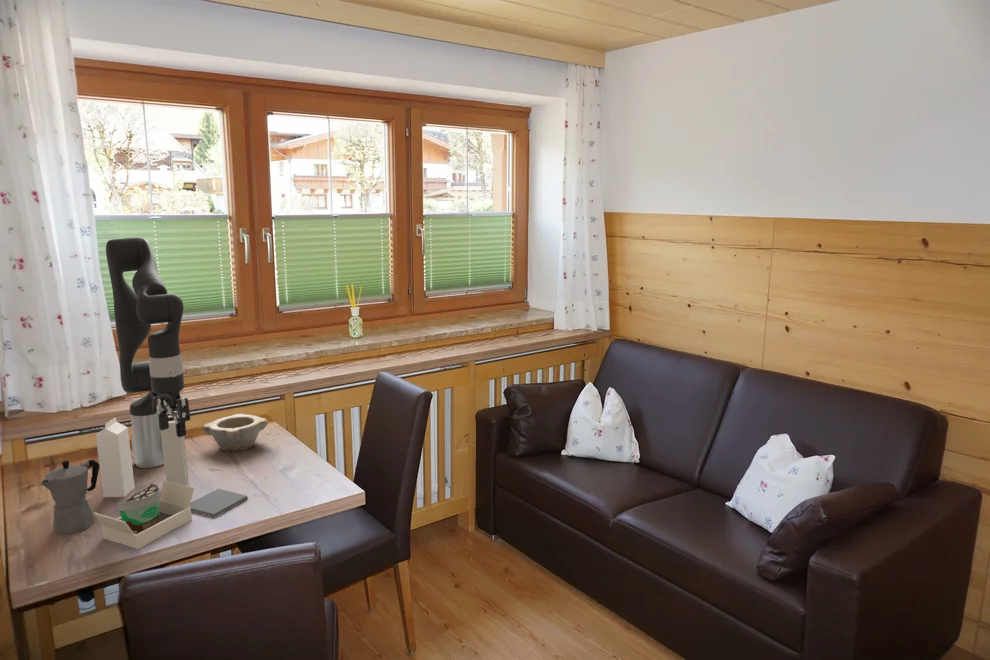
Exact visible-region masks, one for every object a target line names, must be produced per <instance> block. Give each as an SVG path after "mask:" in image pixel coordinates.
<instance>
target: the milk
mask: <svg viewBox="0 0 990 660" xmlns="http://www.w3.org/2000/svg"><path fill="white" fill-rule="evenodd" d="M104 426H105V428H104V429H102V430H101V431H99V432H98V433H96V434H95V440H96V449H97V456H98V457H97V458H98V463H99V472H100V473H99V474H100V479H101V488H102V497H103V498H125V497H127V496H128V495H129V494H131V492H132V491H133V490H134V489H135V478H134V471H133V463H132V462H133V461H132V453H131V444H130V438H129V437H130V436H129V428H128V426H126V425H124V424H122V423H120V422H118V421H117V417H114V418H112V419H110V420H108V421H107V422H106V423H105V424H104Z"/></svg>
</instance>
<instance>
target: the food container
mask: <svg viewBox="0 0 990 660" xmlns="http://www.w3.org/2000/svg"><path fill="white" fill-rule="evenodd" d="M161 490H162V489H161V488H160V487H159V485H158V484H157V483H154V482H149V486H147V487H146V488H145V489H143V490H141V491H138V492H136V493H135V494H133V495H131V496H130V497H129V498H128V499H127V500H125V501H118V503H117V511H119V513H120V517H121V518H122V521H125V522H126V523H127V525H128V526H129V527H130V529H131V530H132V531H133V533H134V534H138V533H140V532H142V531H144V530H146V529H148V528H150V527H151V526H153V525H155V524H157V523H159V522H161V521H160V512H159V499H160V498H161V497H162V493H161Z"/></svg>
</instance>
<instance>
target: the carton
mask: <svg viewBox="0 0 990 660" xmlns="http://www.w3.org/2000/svg"><path fill="white" fill-rule="evenodd" d="M160 490H161V493H162V497H161V498H160V499H159V513H162V514H164V513H165V515H169V516H168V517H167V518H165V519H163V520H162V521H160V522H159V523H157V524H155V525H153V526H151V527H150V528H148V529H146V530H144V531H142V532H140V533H138V534H134V533H133V531H132V530H131V529H130V527H129V526H128V525H127V523H126V522H125V521H122V518H121V516H119V517H117V518H115V517H111V516H108V515H105V514H101V513H98V512H95V511H94V512H93V515H94V516H95V518H97V520H98V521H99V522H100V524H101V527H102V535H103V536H102V537H103V539H105V540H108V541H110V542H115V543H117V544H120V543H121V544H120V545H123V544H124V545H123V546H126V545H127V547H129V548H133V549H137V550H138V549H140V548H142V547H144V546H146V545H148V544H150V543H151V542H153V541H155V540H157V539H159V538H160V537H161V538H162V537H163V536H164V535H166V534H169V533H170V532H172V531H173V529H174V530H175V528H176V529H177V527H178V528H179V527H181V526H182V524H183V525H185V524H186V522H187V523H189V522H191V521H192V519H193V518H192V511H191V508H190V507H189V506H190V503H191V502H192V497H193V494H194V490H195V487H192V486H191V487H190V486H189V487H187V486H183V485H179V484H176V483H172V482H168V481H166V480H163V481H162V486H161V489H160ZM171 515H172V516H171ZM190 520H191V521H190ZM188 521H189V522H188ZM171 530H172V531H171Z"/></svg>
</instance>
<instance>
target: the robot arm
mask: <svg viewBox="0 0 990 660" xmlns="http://www.w3.org/2000/svg"><path fill="white" fill-rule="evenodd" d="M105 255H106V261H107V267H108V271H109V272H108V273H109V278H110V284H111V289H112V298H113V312H114V313H113V314H114V321H115V322H114V323H115V329H116V335H117V342H118V350H119V372H120V374H119V375H120V384H121V387H122V389H123V391H124V392H125V393H129V394H132V393H141V392H148V393H147V394H145V395H144V396H143V397H142V398H139V399H137V400H135V401H133V402H132V403H130V405H129V413H130V414H129V415H130V422H131V431H132V434H131V435H130V440H131V446H132V455H133V464H135V465H136V466H135V467H138V468H140V469H151V468H155V467H159V466H162V465H163V466H164V458H163V448H162V439H161V430H166V429H168V428H169V422H168V417H169V416H172V417H173V418H174V420H175V422H176V423H175V425H176V435H177V437H183V436H184V437H185V436H186V435H187V427H186V422H188V421H191V413H190V405H189V398H188V397H181V394H180V392H181V391H183V390H184V389H185V377H184V368H183V367H184V366H183V362H182V361H183V360H182V356H181V350H180V349H181V348H180V329H181V322H182V320H183V315H184V308H185V307H184V306H185V305H184V302H183V299H182V298H181V297H180V296H179V295H178V294H176V293H168V291H167V288H166V285H165V284H164V282H163V280H162V279H161V277H160V274H159V269H158V266H157V262H156V259H155V256H154V252H153V250H152V247H151V244H150V242H149V241H148V240H147V239H146V238H144V237H125V238H124V237H123V238H113V239H109V240H108V241H107V242H106V244H105ZM125 272H135V273H134V275H133V277H132V280H131V282H132V283H131V284H132V285H130V284H129V283H128V282H127V280H126V278H125V277H124V275H123V274H124V273H125ZM131 286H132V287H131ZM161 323H167V325H166V326H165V327H164V328H163V329H160V330H157V331H154V332H152V333H150V332H151V330H152V325H153V324H161ZM146 339H147V347H148V356H149V360H146V361H138V362H136V361H135V362H133V360H134V358H135V356H136V353H137V352H138V350H139V348H140V347H141V346H142V344H144V342H145V340H146ZM177 416H178V417H177Z"/></svg>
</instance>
